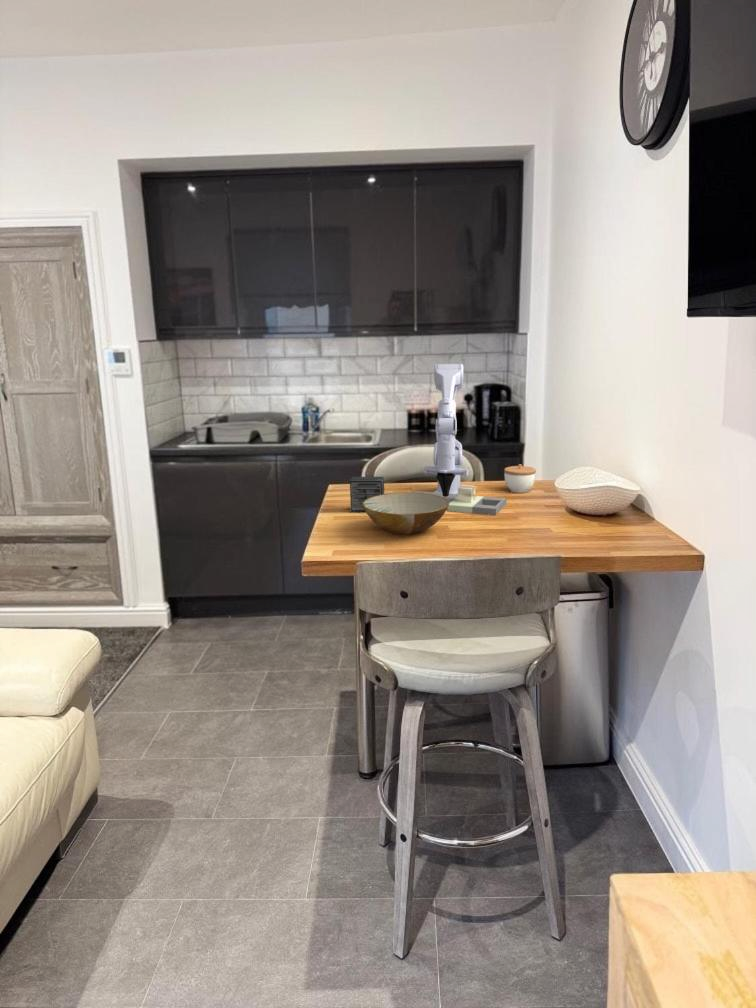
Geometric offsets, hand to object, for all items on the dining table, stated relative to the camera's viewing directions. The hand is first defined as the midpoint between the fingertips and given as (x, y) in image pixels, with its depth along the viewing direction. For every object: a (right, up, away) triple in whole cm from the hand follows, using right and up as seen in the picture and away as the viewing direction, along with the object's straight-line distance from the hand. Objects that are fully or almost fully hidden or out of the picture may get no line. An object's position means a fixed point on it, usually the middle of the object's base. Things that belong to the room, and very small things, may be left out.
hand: (445, 495), depth 235 cm
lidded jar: (+27, +2, +18) cm, 33 cm away
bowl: (-14, -10, -25) cm, 30 cm away
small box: (-25, -5, -4) cm, 26 cm away
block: (+6, -2, -2) cm, 7 cm away
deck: (+2, -3, 0) cm, 4 cm away
